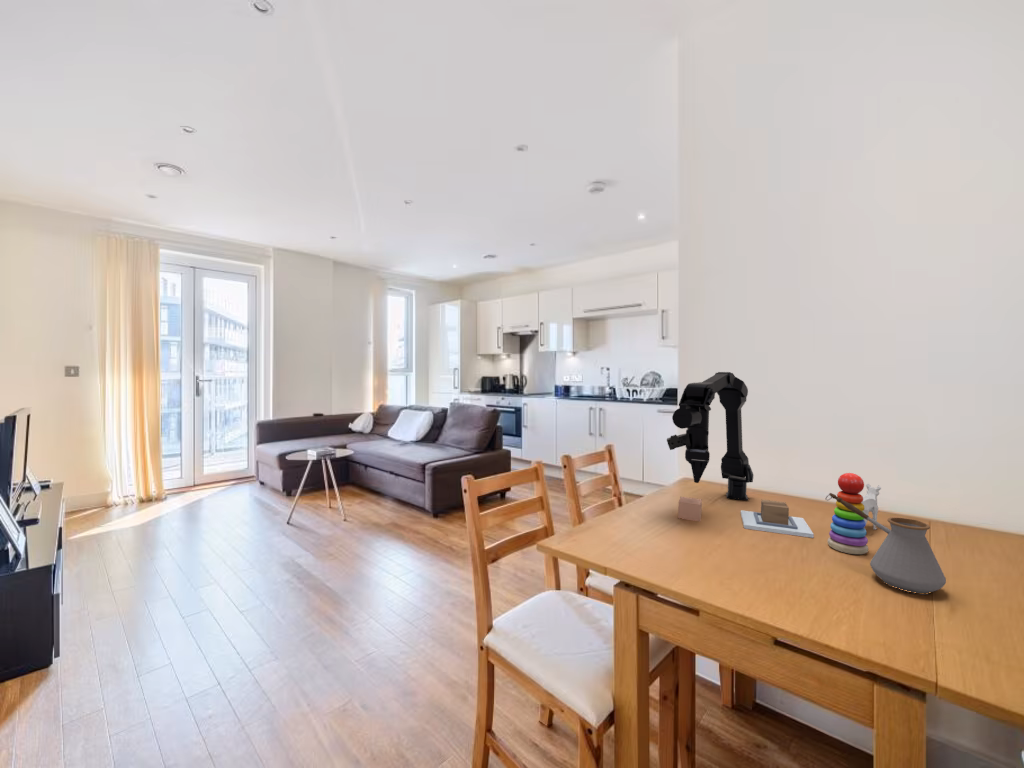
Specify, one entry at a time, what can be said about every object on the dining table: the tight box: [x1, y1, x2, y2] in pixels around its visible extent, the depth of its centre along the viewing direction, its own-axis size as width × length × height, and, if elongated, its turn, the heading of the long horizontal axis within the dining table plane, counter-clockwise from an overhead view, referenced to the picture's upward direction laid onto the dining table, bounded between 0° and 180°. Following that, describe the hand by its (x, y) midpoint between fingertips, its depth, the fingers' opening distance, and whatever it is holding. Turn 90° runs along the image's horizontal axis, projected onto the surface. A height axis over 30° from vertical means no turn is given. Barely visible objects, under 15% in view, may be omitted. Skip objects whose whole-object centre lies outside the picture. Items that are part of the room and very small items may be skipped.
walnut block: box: [760, 499, 790, 525], centre depth 124 cm, size 6×6×5 cm
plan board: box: [740, 510, 815, 539], centre depth 124 cm, size 14×16×2 cm
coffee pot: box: [825, 492, 947, 593], centre depth 93 cm, size 21×12×15 cm, turn 23°
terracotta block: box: [677, 496, 703, 522], centre depth 130 cm, size 6×6×5 cm
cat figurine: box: [861, 482, 882, 531], centre depth 120 cm, size 4×20×14 cm, turn 124°
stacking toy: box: [827, 472, 869, 555], centre depth 107 cm, size 8×8×19 cm
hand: (696, 479), depth 129 cm, fingers open, 9 cm apart
